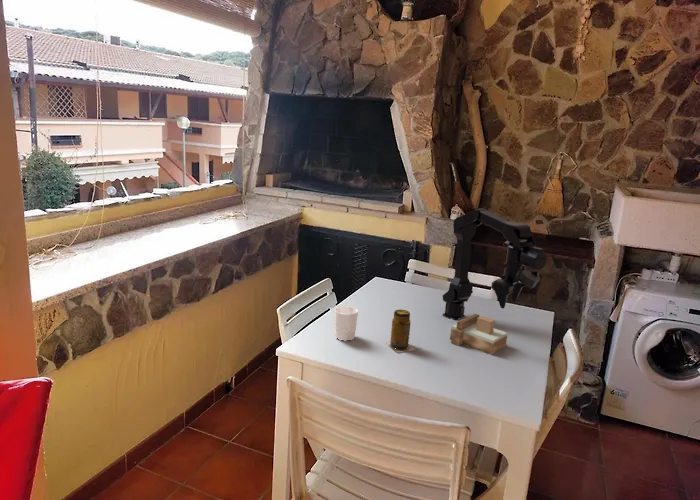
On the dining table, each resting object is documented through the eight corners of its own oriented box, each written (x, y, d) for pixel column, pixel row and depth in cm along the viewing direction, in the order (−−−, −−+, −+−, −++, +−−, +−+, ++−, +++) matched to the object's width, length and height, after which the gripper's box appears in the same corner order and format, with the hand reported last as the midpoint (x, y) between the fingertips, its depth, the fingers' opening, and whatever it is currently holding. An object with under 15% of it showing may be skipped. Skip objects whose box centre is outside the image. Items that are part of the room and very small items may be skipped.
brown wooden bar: (456, 327, 177) (457, 321, 176) (474, 319, 185) (475, 313, 185) (461, 329, 176) (461, 323, 175) (478, 320, 184) (479, 315, 184)
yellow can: (402, 339, 178) (405, 307, 175) (416, 350, 171) (419, 316, 168) (384, 342, 175) (387, 309, 172) (397, 353, 167) (400, 318, 164)
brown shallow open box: (445, 341, 179) (447, 327, 177) (468, 329, 189) (469, 316, 188) (487, 357, 168) (489, 342, 167) (509, 344, 179) (510, 330, 178)
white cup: (359, 335, 179) (361, 308, 177) (350, 344, 172) (352, 316, 170) (339, 330, 182) (341, 304, 180) (329, 338, 175) (330, 311, 173)
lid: (451, 328, 179) (453, 313, 178) (466, 321, 186) (467, 307, 185) (492, 343, 169) (495, 327, 168) (506, 335, 176) (508, 320, 175)
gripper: (526, 272, 161) (519, 318, 165) (549, 261, 175) (541, 305, 179) (493, 264, 168) (487, 308, 172) (517, 254, 182) (511, 296, 186)
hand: (508, 304), depth 177 cm, fingers open, 9 cm apart
